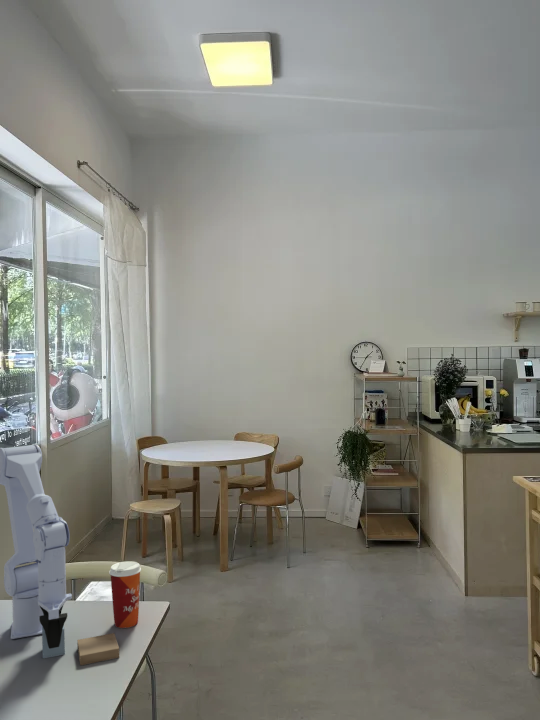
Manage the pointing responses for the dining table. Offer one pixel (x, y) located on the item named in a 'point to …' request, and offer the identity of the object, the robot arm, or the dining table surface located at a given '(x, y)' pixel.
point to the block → (52, 651)
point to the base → (98, 649)
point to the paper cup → (125, 593)
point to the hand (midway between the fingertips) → (53, 639)
